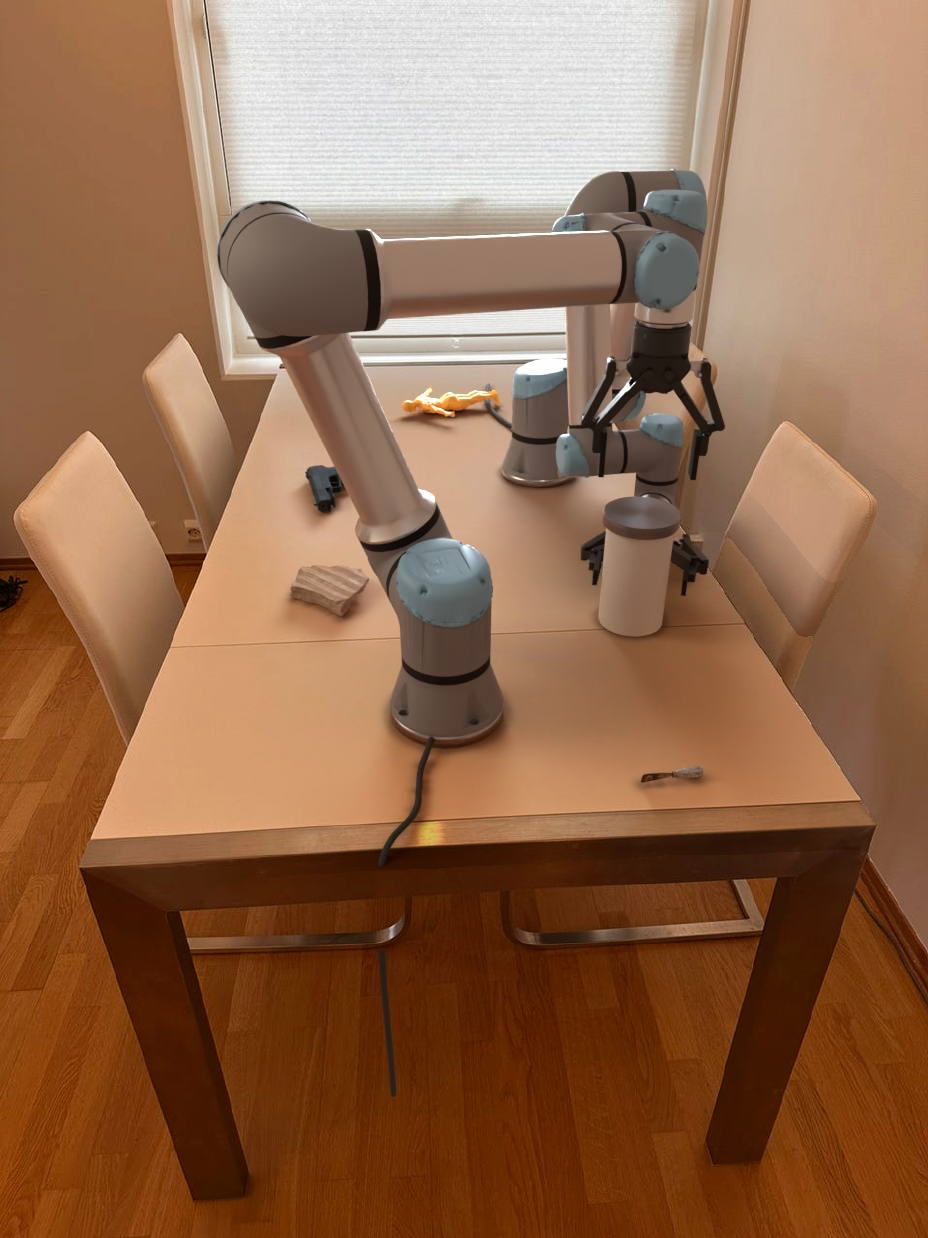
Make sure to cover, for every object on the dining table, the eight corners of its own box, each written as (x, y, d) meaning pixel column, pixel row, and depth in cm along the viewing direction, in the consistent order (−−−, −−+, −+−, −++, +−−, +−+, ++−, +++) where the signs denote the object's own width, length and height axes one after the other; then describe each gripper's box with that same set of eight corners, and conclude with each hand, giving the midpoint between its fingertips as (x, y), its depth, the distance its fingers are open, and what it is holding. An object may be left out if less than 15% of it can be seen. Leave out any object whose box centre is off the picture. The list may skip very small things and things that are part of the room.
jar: (671, 614, 142) (686, 510, 133) (647, 643, 135) (660, 535, 125) (614, 597, 147) (624, 495, 137) (587, 624, 140) (596, 519, 130)
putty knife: (703, 777, 109) (705, 767, 109) (642, 788, 108) (644, 777, 107) (700, 772, 110) (702, 762, 109) (639, 782, 109) (640, 771, 108)
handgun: (375, 507, 177) (315, 514, 174) (360, 472, 191) (304, 479, 188) (374, 492, 175) (313, 499, 172) (359, 458, 189) (302, 465, 187)
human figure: (395, 413, 223) (394, 398, 221) (438, 390, 237) (438, 375, 235) (462, 429, 215) (462, 413, 213) (502, 404, 229) (503, 388, 227)
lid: (690, 517, 133) (692, 506, 132) (662, 546, 125) (663, 535, 124) (621, 500, 139) (622, 490, 138) (589, 528, 131) (590, 517, 130)
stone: (378, 583, 151) (377, 570, 149) (343, 618, 141) (342, 604, 140) (312, 570, 155) (310, 557, 154) (274, 603, 146) (272, 589, 144)
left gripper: (569, 327, 114) (560, 482, 126) (764, 330, 112) (737, 488, 124) (568, 313, 121) (560, 462, 132) (753, 315, 119) (728, 467, 130)
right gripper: (721, 551, 154) (719, 614, 136) (577, 535, 159) (557, 594, 142) (727, 511, 150) (726, 571, 132) (579, 496, 155) (560, 552, 138)
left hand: (646, 475), depth 128 cm, fingers open, 12 cm apart
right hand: (639, 583), depth 137 cm, fingers open, 13 cm apart
